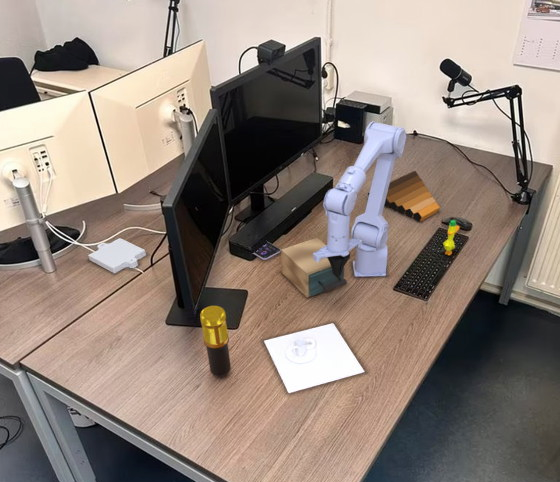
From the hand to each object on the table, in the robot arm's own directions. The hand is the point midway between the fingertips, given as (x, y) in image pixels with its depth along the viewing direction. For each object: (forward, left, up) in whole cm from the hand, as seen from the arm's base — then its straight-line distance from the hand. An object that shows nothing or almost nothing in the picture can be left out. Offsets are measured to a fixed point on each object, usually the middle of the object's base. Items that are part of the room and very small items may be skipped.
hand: (336, 274), depth 155 cm
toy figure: (-37, -23, -9) cm, 45 cm away
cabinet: (+7, -11, -9) cm, 16 cm away
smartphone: (+24, -29, -9) cm, 39 cm away
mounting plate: (+70, -25, -9) cm, 75 cm away
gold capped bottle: (+33, +32, -9) cm, 46 cm away
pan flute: (-33, -60, -9) cm, 69 cm away
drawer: (+5, -8, -8) cm, 12 cm away
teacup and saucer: (+8, +23, -9) cm, 26 cm away
